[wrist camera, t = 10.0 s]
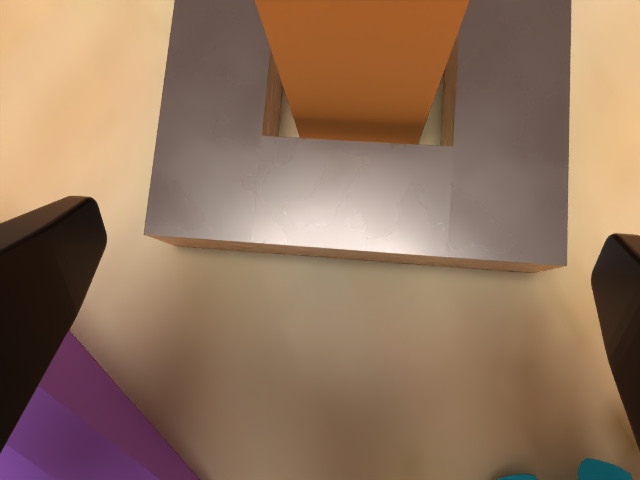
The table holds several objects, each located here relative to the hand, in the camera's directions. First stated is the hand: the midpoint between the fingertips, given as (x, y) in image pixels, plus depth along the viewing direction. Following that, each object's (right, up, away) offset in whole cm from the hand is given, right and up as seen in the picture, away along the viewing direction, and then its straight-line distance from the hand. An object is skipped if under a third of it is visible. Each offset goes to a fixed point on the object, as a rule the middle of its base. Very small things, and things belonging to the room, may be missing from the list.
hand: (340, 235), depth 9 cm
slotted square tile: (+1, +5, +9) cm, 10 cm away
